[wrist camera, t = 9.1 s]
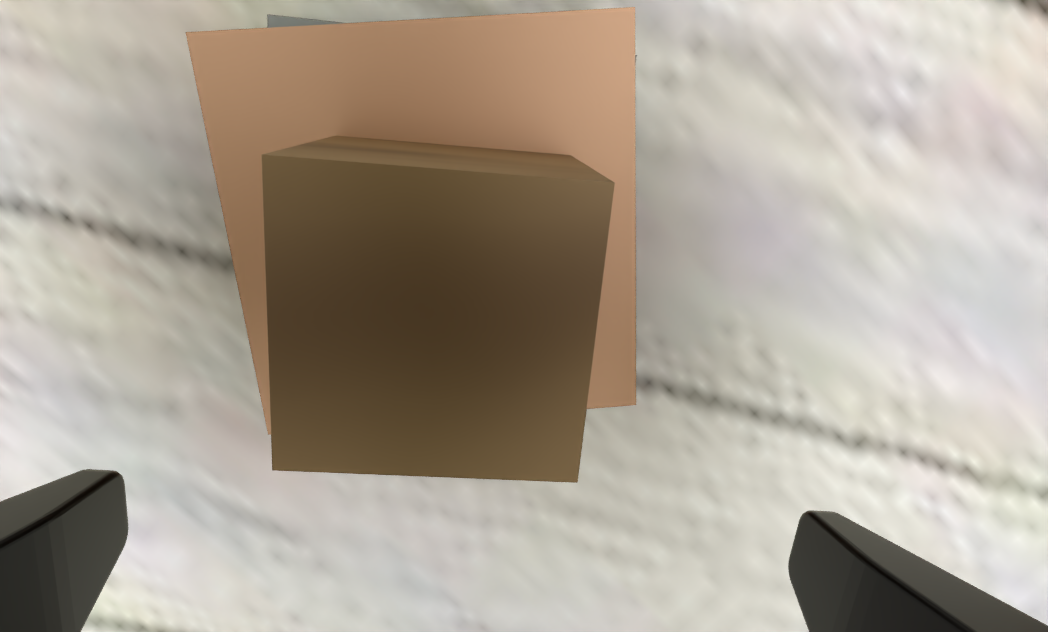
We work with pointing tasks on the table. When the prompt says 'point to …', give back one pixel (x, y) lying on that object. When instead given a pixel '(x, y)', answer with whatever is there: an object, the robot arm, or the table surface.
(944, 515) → the table surface
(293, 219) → the walnut block
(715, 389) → the table surface
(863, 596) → the robot arm
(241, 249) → the tower top slab
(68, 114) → the table surface
